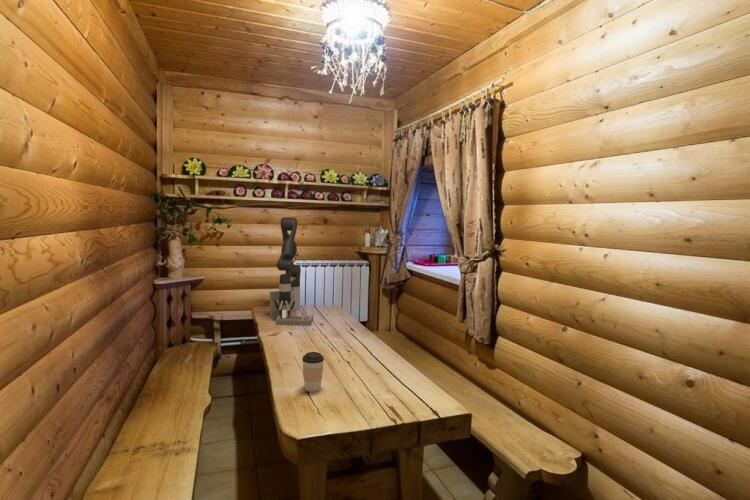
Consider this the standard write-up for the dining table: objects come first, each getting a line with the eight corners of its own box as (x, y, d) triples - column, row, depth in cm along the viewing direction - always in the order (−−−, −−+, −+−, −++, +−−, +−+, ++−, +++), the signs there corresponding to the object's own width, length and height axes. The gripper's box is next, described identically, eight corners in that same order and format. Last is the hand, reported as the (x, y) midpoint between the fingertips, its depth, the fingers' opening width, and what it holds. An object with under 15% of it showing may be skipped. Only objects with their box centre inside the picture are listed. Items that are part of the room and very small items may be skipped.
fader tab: (283, 316, 277) (283, 308, 276) (287, 316, 277) (287, 309, 276) (282, 318, 272) (282, 310, 271) (285, 318, 272) (285, 310, 271)
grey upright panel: (269, 317, 286) (270, 288, 284) (269, 316, 290) (269, 287, 288) (293, 316, 291) (293, 288, 290) (292, 314, 295) (292, 287, 293)
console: (280, 319, 281) (280, 313, 280) (313, 320, 281) (313, 314, 280) (276, 324, 269) (276, 317, 268) (310, 325, 269) (310, 319, 268)
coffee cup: (313, 381, 181) (314, 348, 180) (327, 387, 176) (328, 353, 174) (297, 388, 174) (297, 353, 173) (311, 394, 169) (312, 359, 167)
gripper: (297, 289, 276) (296, 314, 278) (275, 288, 276) (275, 313, 278) (294, 291, 269) (294, 317, 271) (272, 290, 269) (272, 316, 271)
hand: (284, 315), depth 274 cm, fingers open, 4 cm apart
